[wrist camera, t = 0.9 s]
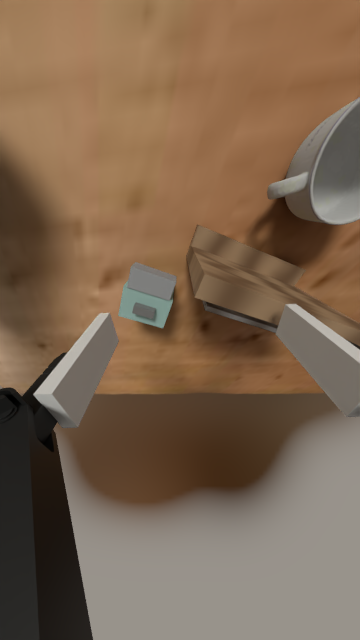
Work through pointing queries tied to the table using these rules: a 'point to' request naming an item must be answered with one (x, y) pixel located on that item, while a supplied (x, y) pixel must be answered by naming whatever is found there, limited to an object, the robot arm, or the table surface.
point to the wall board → (254, 285)
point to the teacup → (326, 171)
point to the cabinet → (147, 295)
